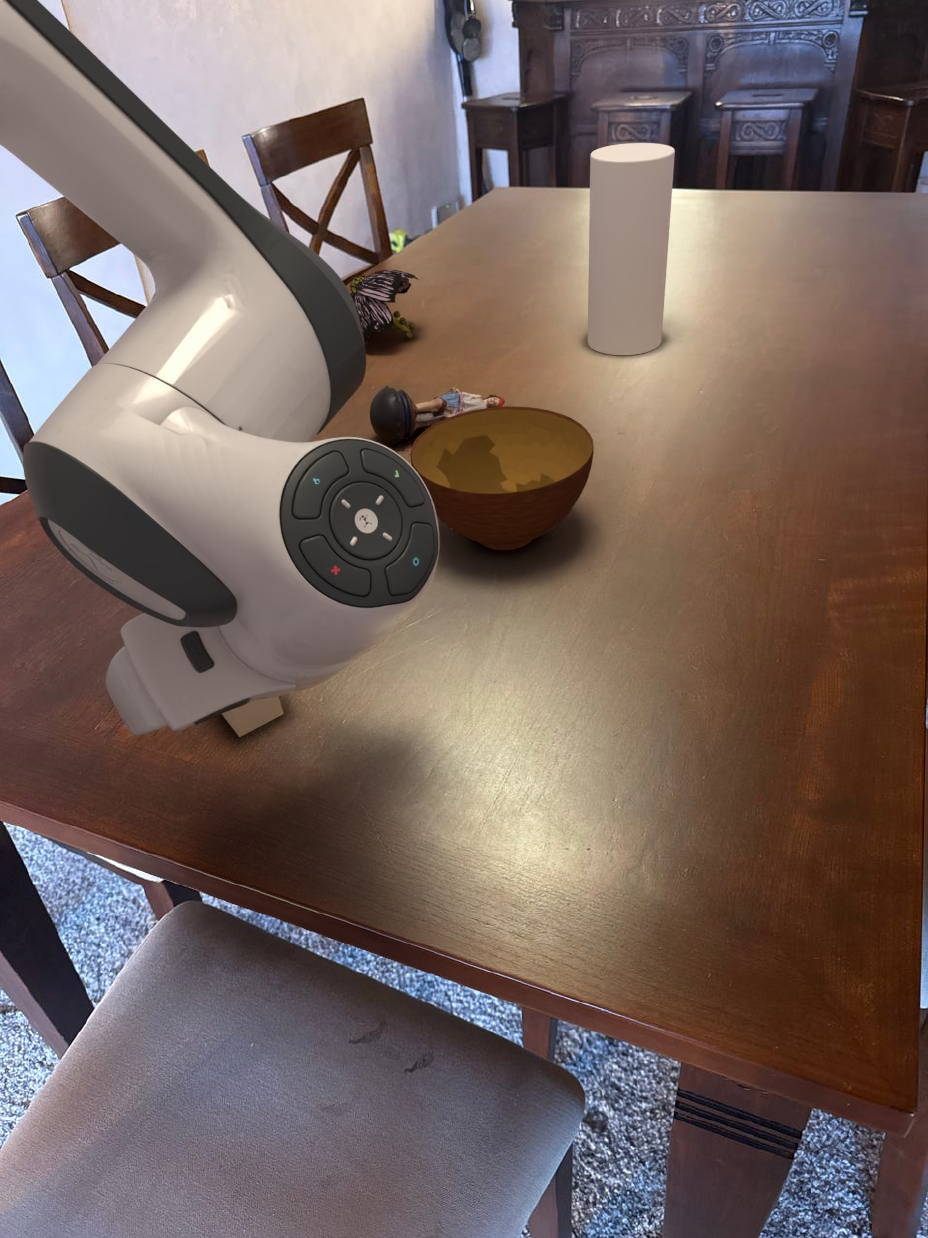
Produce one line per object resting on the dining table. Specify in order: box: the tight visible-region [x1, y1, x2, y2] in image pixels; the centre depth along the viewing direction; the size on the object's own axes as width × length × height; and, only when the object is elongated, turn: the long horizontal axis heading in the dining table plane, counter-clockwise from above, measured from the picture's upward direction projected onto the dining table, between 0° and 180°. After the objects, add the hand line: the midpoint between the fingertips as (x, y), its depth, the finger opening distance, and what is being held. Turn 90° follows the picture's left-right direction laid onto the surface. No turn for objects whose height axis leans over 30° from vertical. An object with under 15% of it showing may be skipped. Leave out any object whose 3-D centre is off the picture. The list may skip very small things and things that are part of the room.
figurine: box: [369, 385, 506, 446], centre depth 107 cm, size 8×7×18 cm
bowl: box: [410, 405, 595, 551], centre depth 86 cm, size 18×18×10 cm
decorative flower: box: [349, 269, 420, 345], centre depth 131 cm, size 15×12×15 cm
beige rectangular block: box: [221, 696, 284, 738], centre depth 69 cm, size 4×5×9 cm
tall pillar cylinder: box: [587, 142, 676, 356], centre depth 119 cm, size 11×11×25 cm
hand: (254, 654), depth 61 cm, fingers open, 8 cm apart
